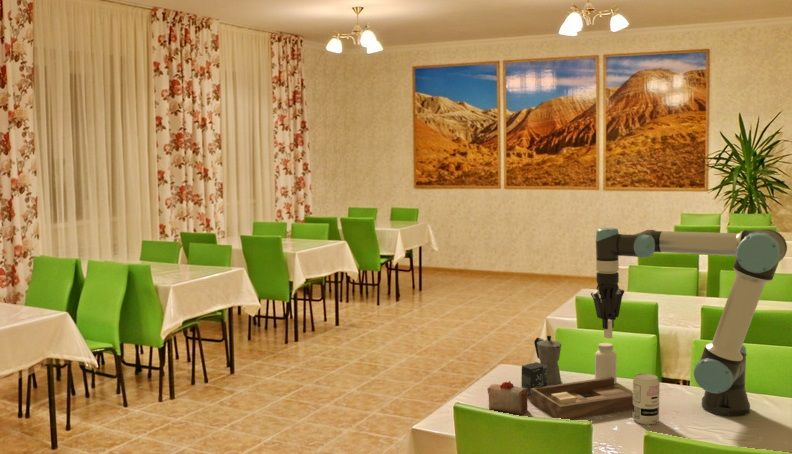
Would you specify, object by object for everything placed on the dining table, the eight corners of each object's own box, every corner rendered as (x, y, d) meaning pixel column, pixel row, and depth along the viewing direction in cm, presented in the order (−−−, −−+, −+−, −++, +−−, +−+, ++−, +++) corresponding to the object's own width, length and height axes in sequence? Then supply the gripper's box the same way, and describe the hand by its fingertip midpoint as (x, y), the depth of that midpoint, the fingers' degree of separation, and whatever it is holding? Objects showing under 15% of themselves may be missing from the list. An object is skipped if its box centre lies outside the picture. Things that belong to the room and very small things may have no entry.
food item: (484, 410, 256) (484, 382, 255) (493, 403, 263) (493, 376, 262) (522, 416, 249) (522, 388, 248) (530, 409, 256) (530, 381, 255)
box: (531, 397, 268) (531, 369, 267) (521, 393, 272) (520, 365, 271) (547, 392, 272) (547, 365, 271) (536, 388, 277) (536, 361, 276)
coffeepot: (569, 383, 282) (569, 337, 280) (549, 387, 278) (549, 341, 276) (544, 373, 295) (544, 329, 293) (525, 376, 291) (525, 332, 289)
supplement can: (638, 414, 249) (638, 371, 247) (662, 419, 243) (663, 375, 242) (628, 421, 242) (629, 377, 241) (653, 427, 237) (654, 382, 236)
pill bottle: (590, 380, 285) (591, 342, 283) (608, 378, 287) (609, 340, 286) (602, 386, 277) (602, 348, 276) (620, 384, 280) (621, 345, 278)
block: (575, 408, 250) (575, 397, 249) (560, 411, 248) (560, 399, 247) (566, 403, 255) (566, 391, 255) (551, 405, 253) (551, 394, 253)
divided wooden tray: (646, 407, 255) (646, 393, 254) (560, 421, 244) (560, 406, 243) (611, 389, 274) (611, 376, 273) (530, 402, 263) (530, 388, 262)
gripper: (615, 268, 265) (616, 333, 267) (585, 272, 260) (586, 337, 262) (629, 271, 258) (630, 337, 260) (598, 275, 253) (599, 342, 255)
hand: (608, 337), depth 261 cm, fingers closed
